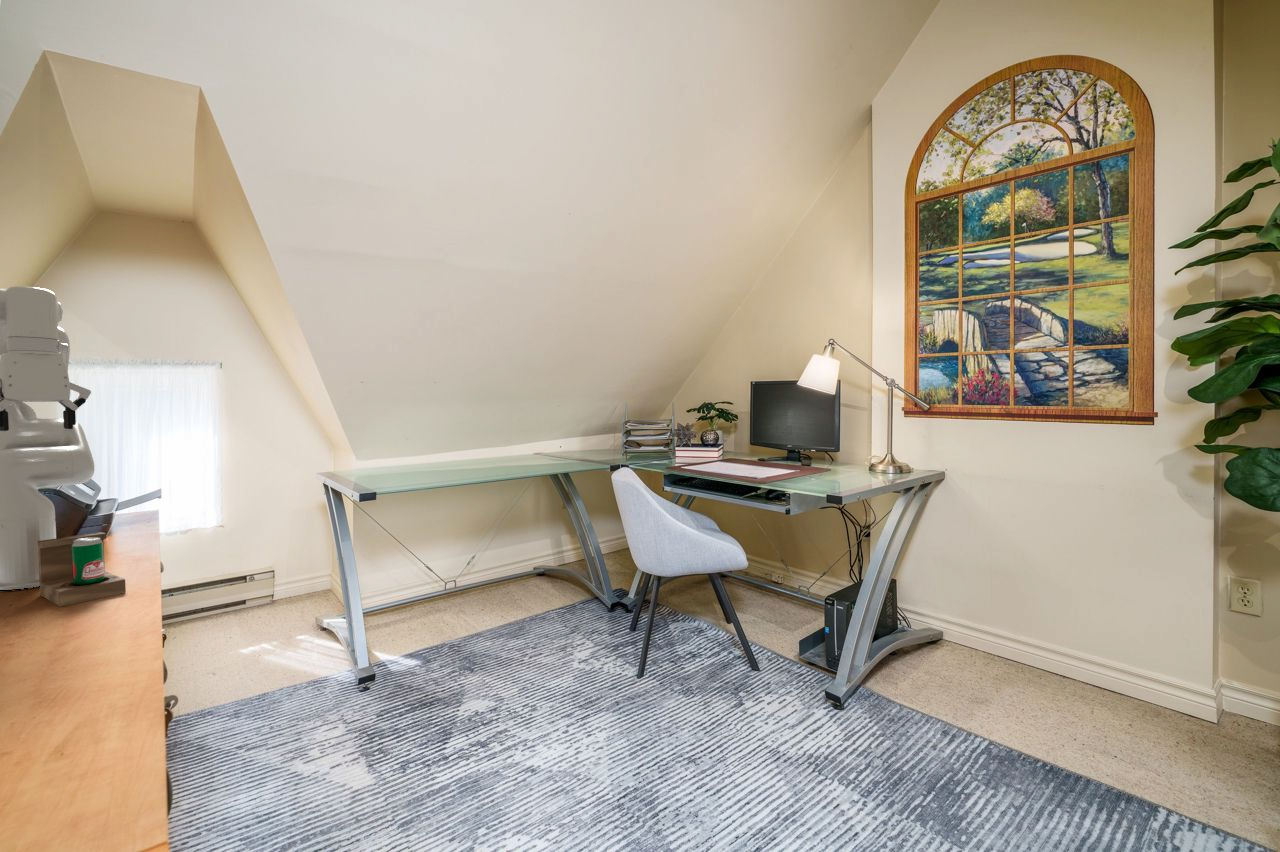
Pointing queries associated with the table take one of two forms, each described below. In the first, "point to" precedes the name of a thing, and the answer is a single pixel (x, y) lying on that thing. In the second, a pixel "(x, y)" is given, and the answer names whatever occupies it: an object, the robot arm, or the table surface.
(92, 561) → the soda can
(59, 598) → the socket block
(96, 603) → the table surface
